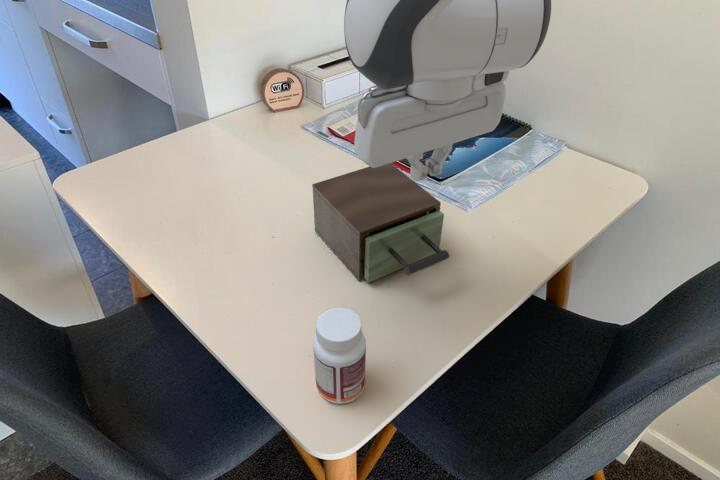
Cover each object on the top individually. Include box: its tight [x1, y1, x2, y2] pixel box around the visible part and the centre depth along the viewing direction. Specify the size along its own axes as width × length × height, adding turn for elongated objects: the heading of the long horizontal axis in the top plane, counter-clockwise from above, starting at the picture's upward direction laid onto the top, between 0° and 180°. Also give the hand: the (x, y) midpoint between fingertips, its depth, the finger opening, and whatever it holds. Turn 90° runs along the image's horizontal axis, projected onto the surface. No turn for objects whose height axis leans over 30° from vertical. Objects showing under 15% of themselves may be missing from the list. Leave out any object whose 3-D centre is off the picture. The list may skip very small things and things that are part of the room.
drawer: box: [364, 210, 450, 283], centre depth 81 cm, size 19×13×8 cm
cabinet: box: [311, 163, 442, 282], centre depth 85 cm, size 15×15×10 cm
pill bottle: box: [312, 306, 367, 405], centre depth 62 cm, size 6×6×11 cm
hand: (425, 175), depth 68 cm, fingers closed
